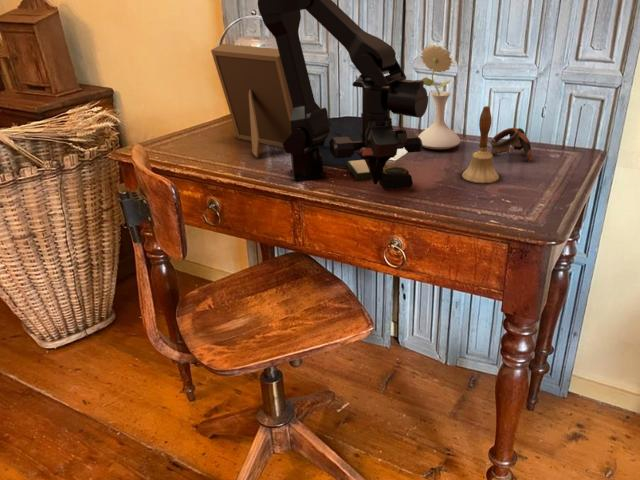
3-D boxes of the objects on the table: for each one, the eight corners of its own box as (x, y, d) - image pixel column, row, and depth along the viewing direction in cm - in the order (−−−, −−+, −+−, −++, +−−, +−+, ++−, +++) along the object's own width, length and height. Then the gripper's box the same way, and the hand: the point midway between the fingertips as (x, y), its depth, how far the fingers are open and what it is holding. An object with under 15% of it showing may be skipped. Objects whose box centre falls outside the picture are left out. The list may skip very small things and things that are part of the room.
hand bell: (498, 184, 127) (507, 112, 119) (461, 182, 128) (466, 110, 120) (498, 172, 134) (506, 102, 126) (462, 170, 135) (468, 101, 127)
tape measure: (381, 193, 123) (381, 177, 121) (376, 182, 129) (376, 166, 127) (412, 192, 123) (413, 175, 122) (406, 180, 129) (407, 164, 127)
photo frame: (248, 134, 163) (237, 41, 151) (309, 146, 153) (303, 46, 140) (210, 148, 152) (195, 48, 140) (273, 161, 142) (263, 55, 130)
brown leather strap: (531, 167, 137) (517, 139, 134) (495, 178, 143) (481, 150, 140) (541, 141, 145) (528, 114, 141) (507, 152, 151) (494, 126, 147)
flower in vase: (468, 147, 150) (476, 46, 138) (438, 156, 144) (444, 51, 132) (432, 136, 159) (437, 40, 147) (403, 144, 153) (405, 45, 140)
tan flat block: (357, 180, 130) (356, 173, 129) (347, 167, 138) (347, 161, 137) (386, 176, 132) (386, 170, 131) (375, 164, 139) (375, 158, 138)
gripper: (340, 123, 107) (341, 201, 115) (433, 117, 111) (429, 193, 119) (328, 110, 116) (330, 182, 124) (414, 104, 121) (411, 175, 128)
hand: (375, 183), depth 123 cm, fingers closed
